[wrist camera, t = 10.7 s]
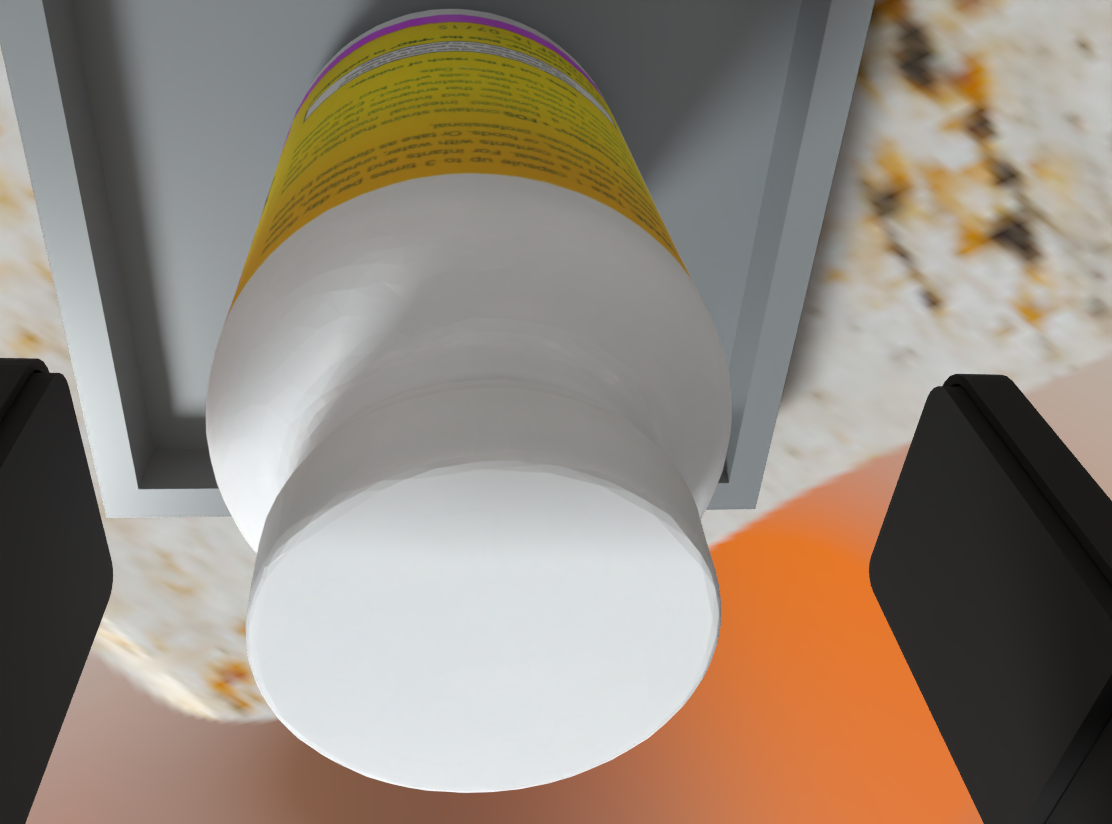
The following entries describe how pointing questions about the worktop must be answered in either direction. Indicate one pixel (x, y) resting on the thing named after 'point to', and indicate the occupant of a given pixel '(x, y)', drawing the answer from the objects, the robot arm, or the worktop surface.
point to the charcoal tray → (258, 138)
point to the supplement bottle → (469, 419)
